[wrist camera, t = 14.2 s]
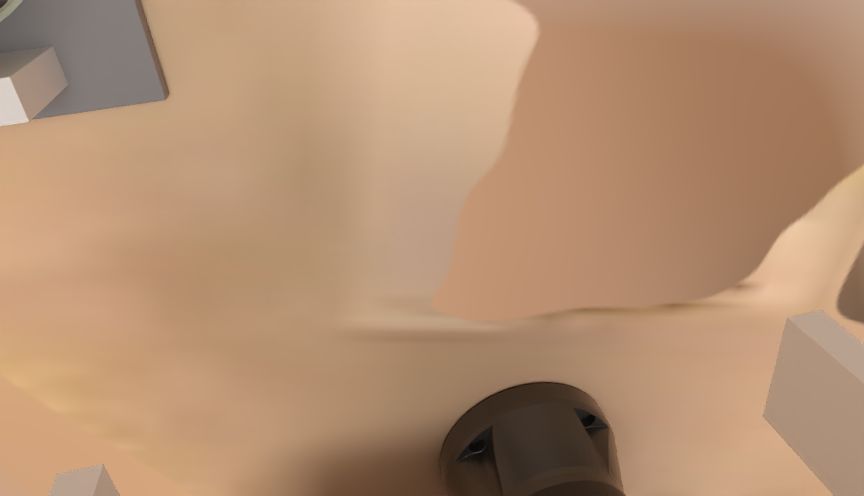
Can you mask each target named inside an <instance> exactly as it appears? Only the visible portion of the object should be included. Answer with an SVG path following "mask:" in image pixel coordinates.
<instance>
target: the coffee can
mask: <svg viewBox="0 0 864 496" xmlns="http://www.w3.org/2000/svg"><path fill="white" fill-rule="evenodd" d="M13 1H14V0H0V12H2V11H3V10H4V9H5V8H6V7H8V6H9V5H10V4H11V3H12V2H13Z"/></svg>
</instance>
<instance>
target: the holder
mask: <svg viewBox="0 0 864 496" xmlns="http://www.w3.org/2000/svg"><path fill="white" fill-rule="evenodd" d="M168 95H169V91H168V88H167V85H166V82H165V79H164V75H163V72H162V69H161V66H160V63H159V59H158V56H157V53H156V50H155V46H154V43H153V40H152V37H151V34H150V30H149V27H148V24H147V21H146V18H145V14H144V11H143V8H142V5H141V2H140V0H14V1H13V2H12V3H11V4H10V5H9V6H8V7H6V8H5V9H4V10H3V11H2V12H0V126H5V125H12V124H19V123H25V122H30V121H31V120H32V119H39V118H46V117H53V116H59V115H66V114H73V113H80V112H87V111H93V110H100V109H107V108H114V107H121V106H127V105H134V104H141V103H148V102H155V101H161V100H166V99H167V97H168Z"/></svg>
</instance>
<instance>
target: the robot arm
mask: <svg viewBox="0 0 864 496" xmlns="http://www.w3.org/2000/svg"><path fill="white" fill-rule="evenodd" d="M763 417H764V418H765V419H766V420H767V422H768V423H769V424H770V425H771V426H772V427H773V428H774V429H775V430H776V432H777V433H778V434H779V435H780V436H781V437H782V438H783V439H784V440H785V442H786V443H787V444H788V445H789V446H790V447H791V448H792V449H793V450H794V452H795V453H796V454H797V455H798V456H799V457H800V458H801V459H802V461H803V462H804V463H805V464H806V465H807V466H808V467H809V468H810V469H811V471H812V472H813V473H814V474H815V475H816V476H817V477H818V478H819V479H820V481H821V482H822V483H823V484H824V485H825V486H826V487H827V488H828V490H829V491H830V492H831V493H832V494H833V495H834V496H864V343H863V342H861V341H860V340H859V339H858V338H856V337H855V336H854V335H852V334H851V333H850V332H849V331H847V330H846V329H845V328H844V327H842V326H841V325H840V324H839V323H837V322H836V321H835V320H834V319H832V318H831V317H830V316H829V315H827V314H826V313H825V312H824V311H822V310H819V311H815V312H810V313H805V314H801V315H796V316H791V317H787V320H786V324H785V328H784V332H783V336H782V340H781V345H780V349H779V353H778V357H777V361H776V365H775V369H774V373H773V377H772V381H771V385H770V389H769V393H768V397H767V401H766V405H765V409H764V413H763ZM440 470H441V474H442V478H443V482H444V485H445V489H446V493H447V495H448V496H625V494H624V491H623V485H622V480H621V474H620V468H619V463H618V457H617V451H616V445H615V440H614V435H613V432H612V429H611V427H610V425H609V423H608V421H607V419H606V418H605V416H604V414H603V413H602V411H601V409H600V408H599V406H598V405H597V403H596V402H595V401H594V400H593V399H592V398H591V397H590V396H589V395H587V394H586V393H584V392H582V391H581V390H578V389H576V388H573V387H570V386H567V385H562V384H555V383H536V384H528V385H523V386H519V387H515V388H512V389H508V390H506V391H503V392H501V393H498V394H496V395H494V396H492V397H490V398H488V399H486V400H484V401H483V402H481V403H480V404H478V405H477V406H475V407H474V408H473V409H471V410H470V411H469V412H468V413H467V414H465V415H464V416H463V417H462V418H461V419H460V420H459V421H458V423H457V424H456V425H455V426H454V427H453V429H452V430H451V432H450V433H449V435H448V437H447V439H446V440H445V443H444V445H443V448H442V451H441V456H440ZM49 496H120V495H119V493H118V491H117V489H116V487H115V486H114V484H113V482H112V480H111V478H110V476H109V474H108V472H107V470H106V468H105V467H104V465H103V464H101V465H96V466H91V467H87V468H82V469H77V470H73V471H69V472H63V473H59V474H57V475H56V478H55V480H54V483H53V485H52V488H51V491H50V494H49Z"/></svg>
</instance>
